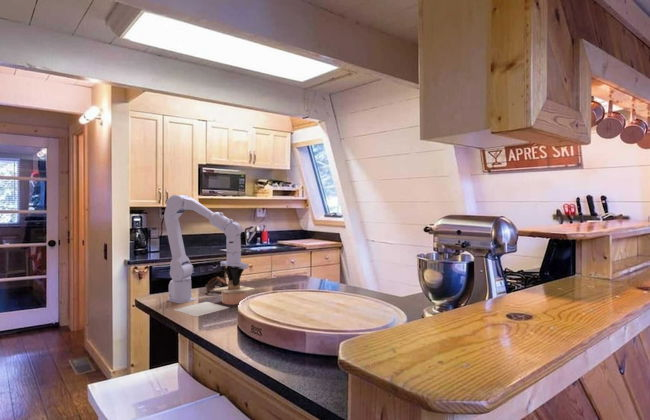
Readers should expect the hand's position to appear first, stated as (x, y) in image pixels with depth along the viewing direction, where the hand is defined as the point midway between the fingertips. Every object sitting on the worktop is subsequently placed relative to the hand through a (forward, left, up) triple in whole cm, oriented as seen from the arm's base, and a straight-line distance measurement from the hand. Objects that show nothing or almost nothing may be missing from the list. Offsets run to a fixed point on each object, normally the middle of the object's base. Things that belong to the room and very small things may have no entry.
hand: (234, 285), depth 173 cm
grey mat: (-1, -15, -7) cm, 17 cm away
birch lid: (0, 0, -2) cm, 2 cm away
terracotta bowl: (0, 0, -7) cm, 7 cm away
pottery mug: (-19, +6, -7) cm, 21 cm away
